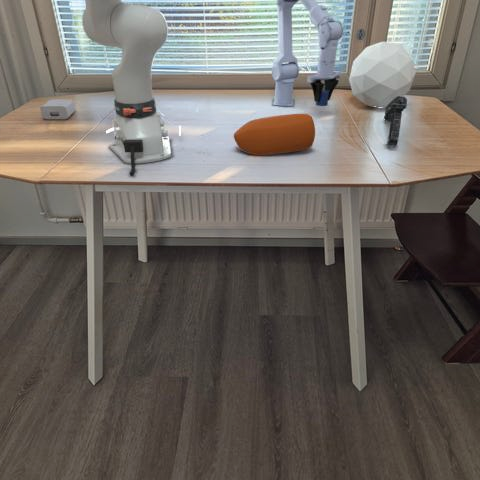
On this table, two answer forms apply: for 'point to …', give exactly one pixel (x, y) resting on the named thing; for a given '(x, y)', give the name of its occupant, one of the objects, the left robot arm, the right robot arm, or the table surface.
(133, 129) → the left robot arm
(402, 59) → the decorative sphere
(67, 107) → the charger
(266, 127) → the orange tapered cylinder
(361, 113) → the table surface
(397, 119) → the futuristic handgun
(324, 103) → the canister
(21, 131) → the table surface
